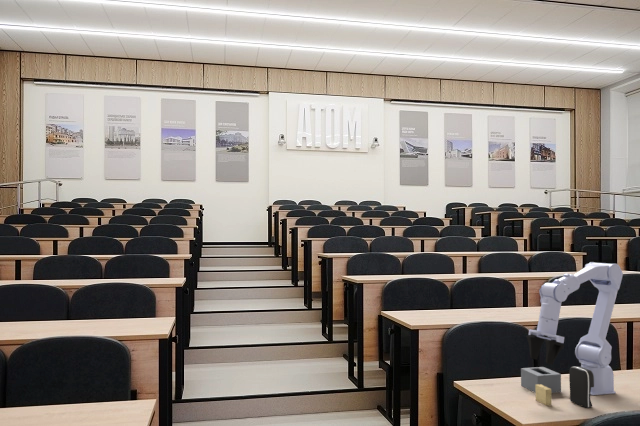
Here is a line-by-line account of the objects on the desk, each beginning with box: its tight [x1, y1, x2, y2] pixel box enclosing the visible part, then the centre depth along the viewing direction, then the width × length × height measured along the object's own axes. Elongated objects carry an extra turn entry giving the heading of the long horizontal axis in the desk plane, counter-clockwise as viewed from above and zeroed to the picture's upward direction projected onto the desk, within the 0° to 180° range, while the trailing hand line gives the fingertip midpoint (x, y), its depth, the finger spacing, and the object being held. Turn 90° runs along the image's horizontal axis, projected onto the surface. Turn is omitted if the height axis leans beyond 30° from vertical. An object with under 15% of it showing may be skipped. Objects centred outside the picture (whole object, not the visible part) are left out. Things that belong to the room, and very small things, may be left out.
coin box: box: [520, 366, 562, 394], centre depth 168 cm, size 9×9×6 cm
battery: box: [568, 366, 594, 408], centre depth 153 cm, size 7×4×11 cm, turn 17°
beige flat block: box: [535, 384, 553, 407], centre depth 155 cm, size 2×5×5 cm, turn 12°
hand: (541, 361), depth 156 cm, fingers open, 7 cm apart
